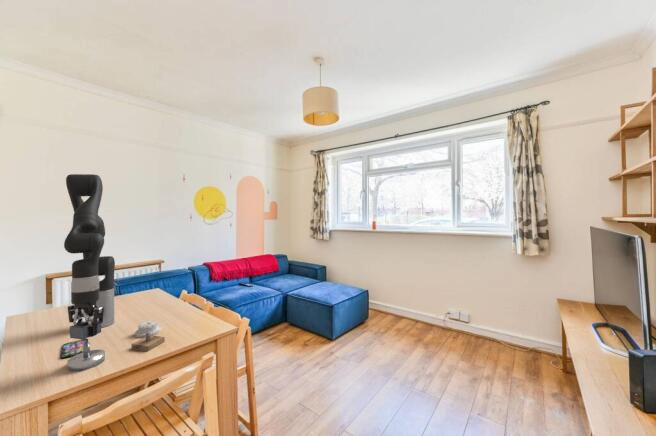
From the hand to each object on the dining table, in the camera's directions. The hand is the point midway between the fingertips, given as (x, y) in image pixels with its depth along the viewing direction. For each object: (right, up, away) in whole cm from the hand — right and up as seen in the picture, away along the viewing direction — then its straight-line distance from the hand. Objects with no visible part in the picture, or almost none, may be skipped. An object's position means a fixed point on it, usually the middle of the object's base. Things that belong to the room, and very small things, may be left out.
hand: (86, 334), depth 96 cm
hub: (0, -10, 0) cm, 10 cm away
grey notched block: (0, 0, 0) cm, 0 cm away
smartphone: (-14, -11, +11) cm, 21 cm away
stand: (+13, -10, +14) cm, 22 cm away
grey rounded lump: (+5, -11, +25) cm, 28 cm away
